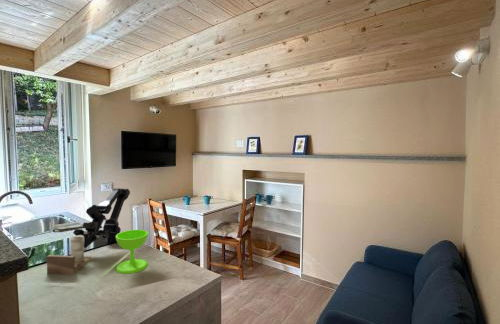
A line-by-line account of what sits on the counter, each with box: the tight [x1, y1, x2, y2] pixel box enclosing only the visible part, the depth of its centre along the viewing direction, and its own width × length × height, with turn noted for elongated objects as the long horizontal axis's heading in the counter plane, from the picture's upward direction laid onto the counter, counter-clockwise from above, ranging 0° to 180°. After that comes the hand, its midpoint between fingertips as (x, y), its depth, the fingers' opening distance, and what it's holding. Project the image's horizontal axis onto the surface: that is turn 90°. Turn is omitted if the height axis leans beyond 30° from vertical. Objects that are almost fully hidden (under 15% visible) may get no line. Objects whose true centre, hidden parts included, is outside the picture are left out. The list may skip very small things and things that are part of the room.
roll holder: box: [46, 254, 85, 276], centre depth 137 cm, size 19×14×10 cm
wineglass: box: [115, 229, 149, 275], centre depth 141 cm, size 16×16×18 cm
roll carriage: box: [69, 235, 92, 266], centre depth 141 cm, size 9×9×14 cm
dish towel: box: [51, 221, 83, 233], centre depth 202 cm, size 19×18×3 cm
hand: (84, 247), depth 147 cm, fingers closed
